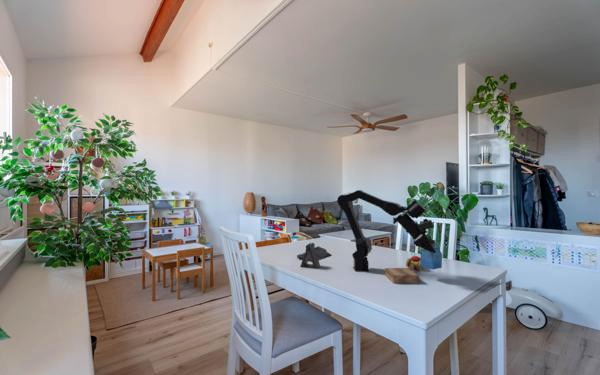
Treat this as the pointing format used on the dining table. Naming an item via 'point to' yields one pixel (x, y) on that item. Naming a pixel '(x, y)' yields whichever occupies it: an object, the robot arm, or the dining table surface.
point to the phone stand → (311, 251)
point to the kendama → (414, 263)
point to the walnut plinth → (401, 275)
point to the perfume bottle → (431, 257)
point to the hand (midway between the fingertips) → (434, 251)
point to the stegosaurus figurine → (320, 254)
